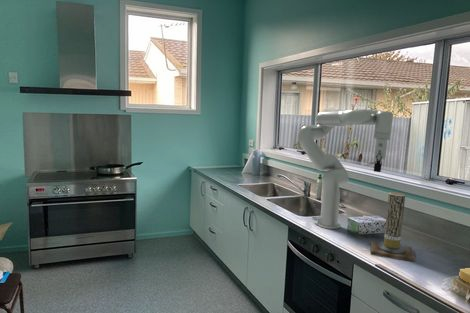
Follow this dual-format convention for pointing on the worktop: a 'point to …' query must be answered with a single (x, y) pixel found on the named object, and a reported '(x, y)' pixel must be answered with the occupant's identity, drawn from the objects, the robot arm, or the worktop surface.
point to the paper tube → (394, 220)
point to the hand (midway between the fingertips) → (377, 170)
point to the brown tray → (392, 251)
